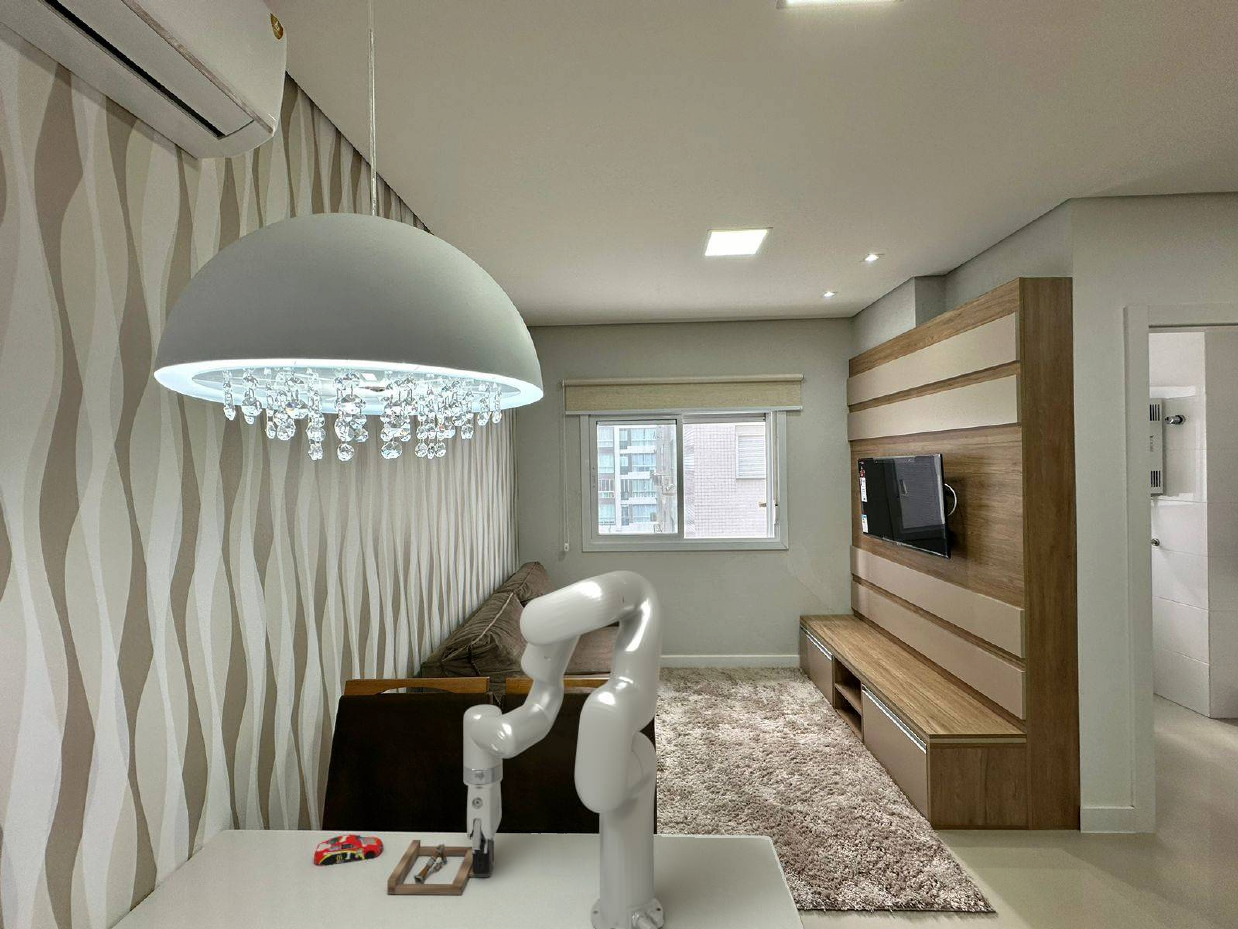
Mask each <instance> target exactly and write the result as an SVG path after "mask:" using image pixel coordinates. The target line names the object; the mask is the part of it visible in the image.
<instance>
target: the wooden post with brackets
mask: <svg viewBox="0 0 1238 929" xmlns="http://www.w3.org/2000/svg"><path fill="white" fill-rule="evenodd" d="M444 846H446V844H444V843H441V844H438V847H437V849H436V852H435V853H434V855H430V858H429V859H428V861H427V862H426V863H425V866H424V867H423V869H422V870H421V871H420V872H419V873H418V874H414V875H413V878H414V881H415V883H417V884H425V882H424V880H425V878H426V876H427V874H428V872H429V871H430V870H431V869H432V867H433V866H434V867H433V873H435V874H436V873H437V872H439V871H440V870H441V869H442V868H443V864H447V863H448V860H447V857H446V856H445V855H444V853H443V850H444ZM439 855H440V856H439ZM438 858H440V859H441V861H440V860H439V862H437V859H438ZM435 863H436V865H435Z"/></svg>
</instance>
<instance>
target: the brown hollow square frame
mask: <svg viewBox="0 0 1238 929" xmlns="http://www.w3.org/2000/svg"><path fill="white" fill-rule="evenodd" d="M481 835H483V833H481ZM493 841H494V837H493V838H492V839H491V840H489V839H488V851H490V871H489V873H487V874H480V873H473V850H472V846H449V845H448V846H447V845H445V846H444V850H443V853H444V855H445V856H448V857H449V856H458V857H460V856H462V857H463V856H464V858H463V860H462V863H460V864H461V865H460V867H459V869H458V871H457V873H456V875H455V877H454V879H453V881H452V883H424V884H422V883H403V882H404V881H405V879H406V877H407V875H408V874H409V872H410V870H411V869H412V867H413V866H414V864H415V862H416V860H417V859H418V857H419V856H433V855H434V853H435V852H436V849H437V847H438V846H439V845H438V846H435V845H434V846H427V845H425V846H421V839H413V840H412V841H411V842H410V845H409V846H408V847H407V849H406V851H405V852H404V854H403V855H402V857H401V858H400V860H399V862H398V863H397V864H396V866H395V868H394V869H393V871H392V873H391V874H390V876H389V877H388V878H387V895H445V896H446V895H447V896H448V895H452V896H455V895H458V896H459V895H462V893H463V892H464V888H465V887H466V884H467V882H468V880H469V878H490V877H491V874H492V871H493V869H494V868H493V867H494V865H493V863H494V860H493ZM480 842H481V843H483V844H484V840H480ZM439 856H440V855H439Z"/></svg>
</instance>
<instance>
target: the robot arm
mask: <svg viewBox="0 0 1238 929" xmlns="http://www.w3.org/2000/svg"><path fill="white" fill-rule="evenodd" d="M664 611H665V610H664V607H663V603H662V599H661V598H660V595H659V593H658V592H657V590H656V588H655V587H654V586H653V584H652V583H651V582H650V581H649V580H648V579H646V577H644V576H642V575H641V574H639V573H637V572H633V571H630V570H615V571H611V572H606V573H603V574H599V575H596V576H592V577H587V578H585V579H582V580H580V581H577V582H575V583H571V584H570V585H567V586H565V587H562V588H560V589H557V590H554V591H552V592H550V593H547V594H545V595H540V596H539V597H536V598H535V597H534V598H533V599H531V601H529V602H528V603H527V604H526V605H525V607H524V608H523V609H522V612H521V614H520V619H519V629H520V633H521V634H522V637H523V638H524V640H525V641H526V642H527V645H526V647H525V649H524V651H523V654H522V656H521V659H520V667H521V669H522V671H523V672H524V674H525V675H526V676H528V677H529V678H530V679H532V680H533V682H532V685H531V688H530V689H529V692H528V695H527V697H526V699H525V701H524V703H523V705H521V706H518V707H517V708H515V709H513V710H511V711H509V712H507V713H504V714H503V713H502V709H501V708H500V707H498V706H497V705H493V704H492V705H491V704H478V705H474V706H470V707H469V708H468V709H466V711H465V712H464V713H463V722H462V724H463V726H462V727H463V729H462V730H463V732H462V733H463V783H464V785H466V786H467V802H466V804H467V806H466V834H467V838H468V839H469V840H472V846H471V847H472V850H473V873H480V874H487V873H489V871H490V851H488V839H489V840H491V839H492V838H493V839H494V837H495V835H496V833H497V830H498V828H499V826H500V823H501V820H502V813H503V811H502V793H501V782H502V780H503V778H504V777H503V759H511V758H513V757H516V756H518V755H520V753H523V752H524V751H525V750H527V749H529V748H530V747H532V746H533V745H536V744H537V743H539V742H540V741H541V740H543V739H544V738H545V737H546V736H547V735H548V733H549V732H550V731H551V729H552V727H553V725H554V723H555V721H556V719H557V716H558V714H559V713H560V709H561V707H562V704H563V700H564V694H565V693H564V690H565V684H564V679H563V678H564V674H565V672H566V669H567V667H568V665H569V663H570V660H571V658H572V655H573V653H574V651H575V648H576V647H577V644H578V643H579V640H580V637H581V635H583V634H586V633H590V632H593V631H596V630H598V629H602V628H603V627H607V626H609V625H612V624H614V623H617V622H619V626H618V631H617V634H616V637H615V640H614V643H613V649H612V655H611V656H612V660H611V666H610V674H609V677H608V680H607V681H606V682H605V683H604V684H603V685H600V686H599V687H597V688H596V689H594V690H593V691H592V692H591V693H590V694H589V695H588V696H587V698H586V700H585V702H584V704H583V705H582V709H581V712H580V716H579V717H580V718H579V723H578V725H579V726H578V731H577V732H578V734H577V744H576V752H575V753H576V755H575V762H574V763H575V764H574V784H575V785H574V786H575V789H576V792H577V796H578V797H579V799H580V801H581V802H582V804H583V805H584V806H585V807H586V808H587V809H589V810H590V811H592V812H594V813H598V814H599V824H598V825H599V826H598V827H599V829H598V830H599V831H598V832H599V833H598V834H599V837H598V838H599V839H598V840H599V841H598V842H599V844H598V845H599V847H598V848H599V898H598V899H597V900H596V901H595V902H594V903H593V905H592V907H591V912H590V918H591V923H592V925H593V927H594V928H595V929H660V928H662V927H663V925H664V923H665V921H664V908H663V905H662V904H661V902H660V901H658V899H657V898H656V897H655V854H654V853H655V852H654V851H655V848H654V847H655V845H654V843H655V842H654V836H655V834H654V833H655V832H654V828H655V827H654V826H655V822H654V821H655V820H654V817H655V814H654V812H655V811H654V810H655V792H656V784H657V777H658V776H657V775H658V758H657V753H656V749H655V747H654V744H653V743H652V741H651V740H650V739H649V737H648V736H646V735H645V734H644V733H642V732H641V730H643V729H644V728H645V727H646V726H647V725H649V723H650V722H651V721H652V720H653V719H654V717H655V714H656V710H657V704H658V694H659V693H658V691H659V682H660V673H661V656H662V648H663V640H664V639H663V638H664V628H665V612H664ZM481 833H483V835H481ZM480 840H484V844H483V843H481V842H480ZM494 860H495V841H494V840H493V861H494Z"/></svg>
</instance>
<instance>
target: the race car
mask: <svg viewBox="0 0 1238 929" xmlns="http://www.w3.org/2000/svg"><path fill="white" fill-rule="evenodd" d="M383 850H384V843H383V841H382V840H381V839H380V838H378V837H374V836H361V835H360V834H358V835H357V834H343V835H339V836H335V837H331V838H329V839H327V840H325V841H322V842H320V843H319V844H317V847H316V850H315V851H314V854H313V859H314V860H313V863H314V864H316V865H319V866H326V867H327V866H333V865H334V864H341V863H342V864H343V863H349V862H354V861H360V860H365V859H366V860H373V859H375V857H378V856H379V855H380V854H381V853H382V852H383Z"/></svg>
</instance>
